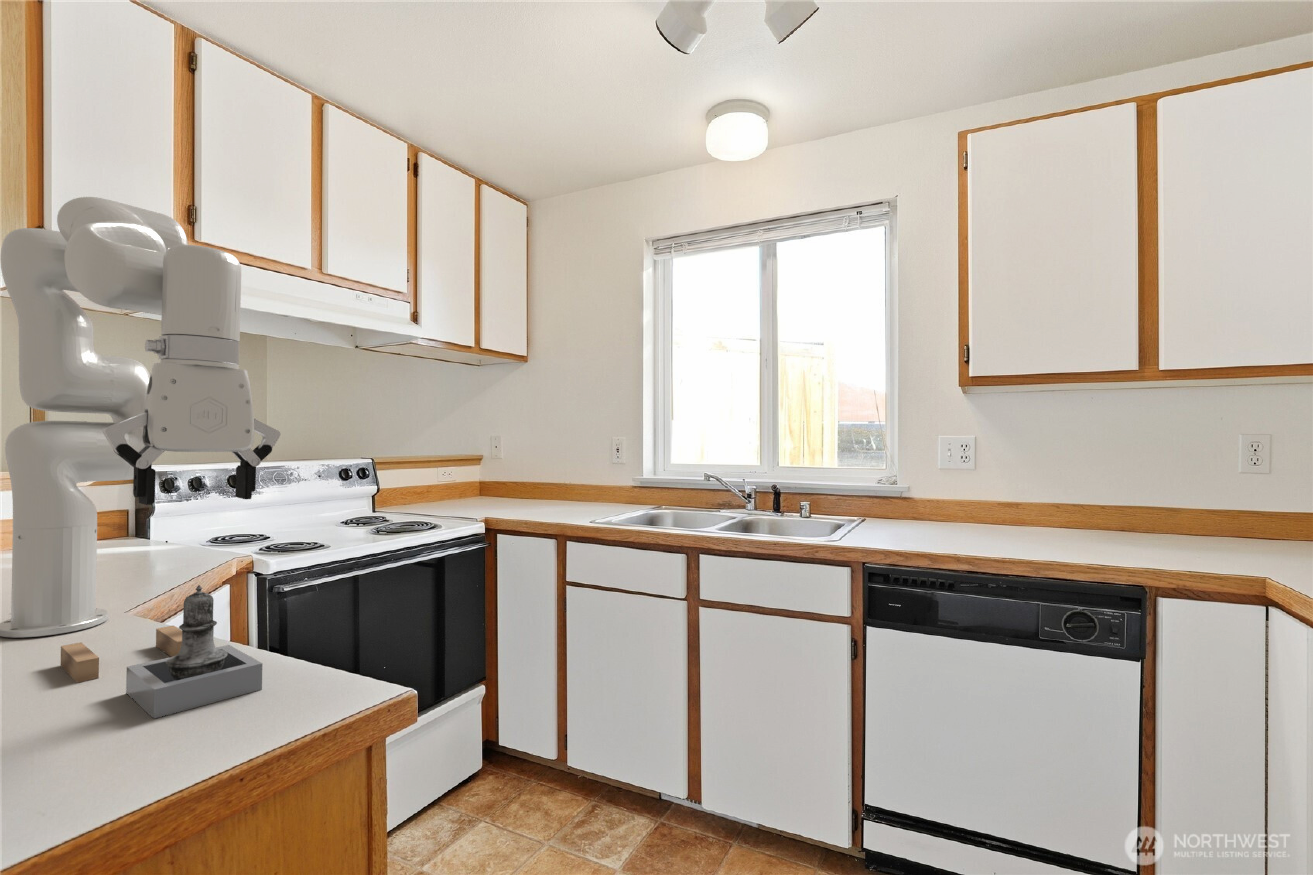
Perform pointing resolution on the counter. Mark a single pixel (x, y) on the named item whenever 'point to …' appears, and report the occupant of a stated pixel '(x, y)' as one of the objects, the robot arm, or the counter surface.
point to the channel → (86, 663)
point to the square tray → (192, 684)
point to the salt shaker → (197, 639)
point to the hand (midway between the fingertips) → (197, 500)
